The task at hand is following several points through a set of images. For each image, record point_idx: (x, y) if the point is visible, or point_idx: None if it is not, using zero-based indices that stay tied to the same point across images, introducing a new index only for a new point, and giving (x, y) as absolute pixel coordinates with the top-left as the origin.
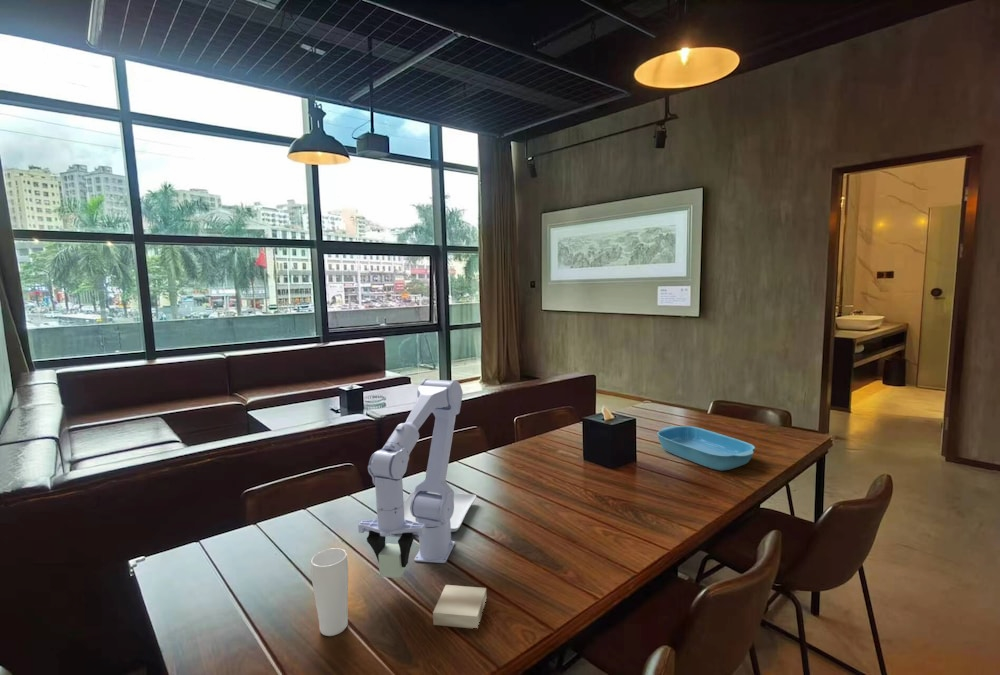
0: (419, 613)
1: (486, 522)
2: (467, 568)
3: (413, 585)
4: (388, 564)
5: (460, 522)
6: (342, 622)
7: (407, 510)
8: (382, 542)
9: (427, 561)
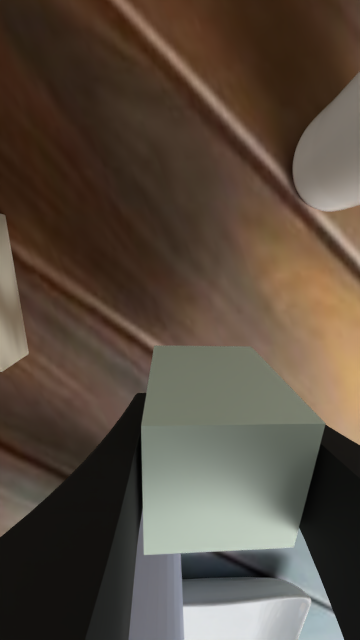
0: (76, 265)
1: None
2: (21, 468)
3: None
4: (220, 379)
5: None
6: (319, 118)
7: (266, 635)
8: (345, 561)
9: None
